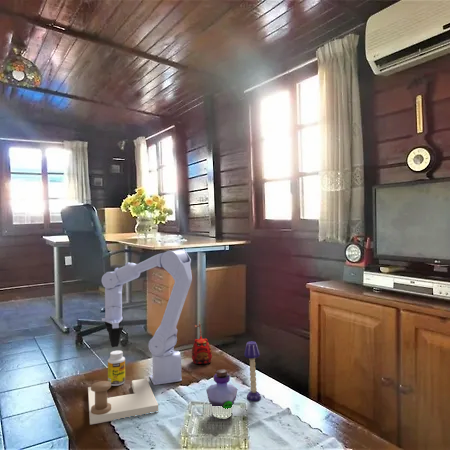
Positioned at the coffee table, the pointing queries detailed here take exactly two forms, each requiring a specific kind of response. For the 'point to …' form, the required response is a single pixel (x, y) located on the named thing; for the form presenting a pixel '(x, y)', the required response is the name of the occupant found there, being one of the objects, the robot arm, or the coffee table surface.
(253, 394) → the toy lamp
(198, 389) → the coffee table surface
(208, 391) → the potion bottle
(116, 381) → the supplement bottle
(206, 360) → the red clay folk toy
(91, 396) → the notched board
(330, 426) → the coffee table surface
